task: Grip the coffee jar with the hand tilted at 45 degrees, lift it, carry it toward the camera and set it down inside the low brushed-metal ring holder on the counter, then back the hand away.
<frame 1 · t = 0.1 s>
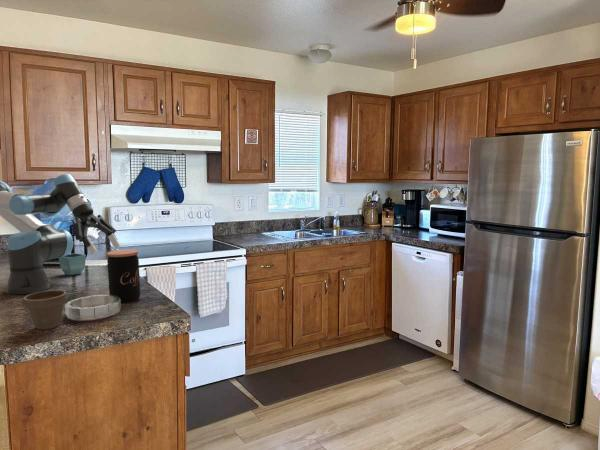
hand: (106, 250, 189), 15 cm above the countertop, tool tilted 35°, fingers open, 13 cm apart
coffee jar: (125, 300, 171), on the countertop
cup bracket: (94, 313, 155), on the countertop
flower pot: (73, 274, 217), on the countertop
flower pot 2: (47, 327, 142), on the countertop
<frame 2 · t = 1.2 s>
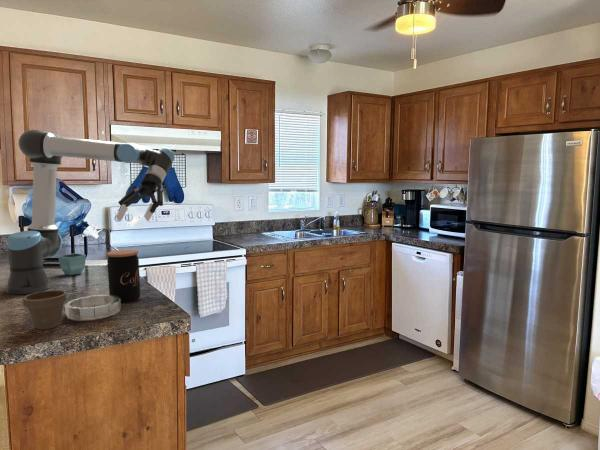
hand: (132, 218, 180), 29 cm above the countertop, tool tilted 45°, fingers open, 13 cm apart
nothing on the countertop moved.
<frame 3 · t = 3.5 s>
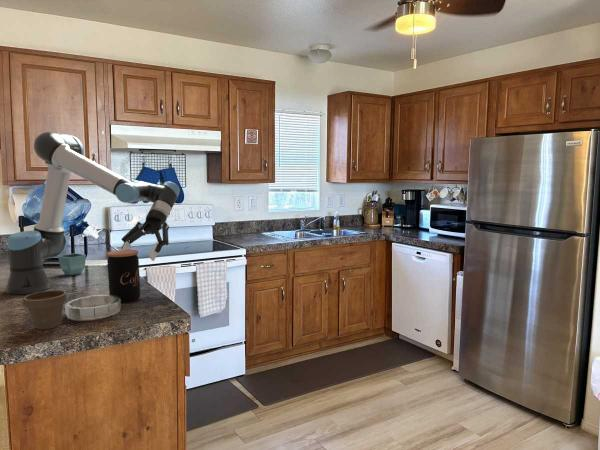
hand: (136, 258, 174), 15 cm above the countertop, tool tilted 45°, fingers open, 13 cm apart
nothing on the countertop moved.
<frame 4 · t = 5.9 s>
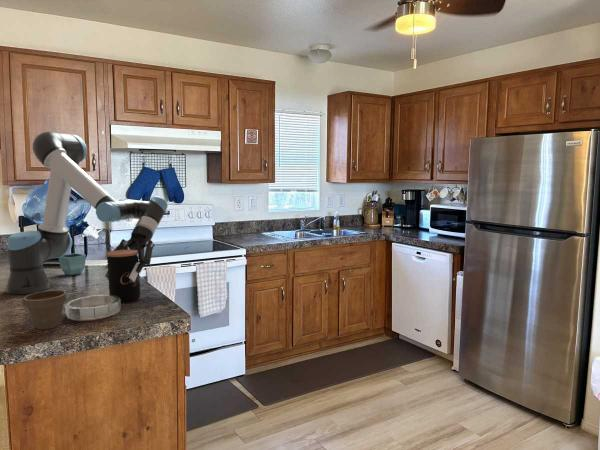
hand: (118, 278, 167), 9 cm above the countertop, tool tilted 45°, fingers closed on coffee jar, 11 cm apart
coffee jar: (125, 300, 171), on the countertop, touching gripper
everything else where it was.
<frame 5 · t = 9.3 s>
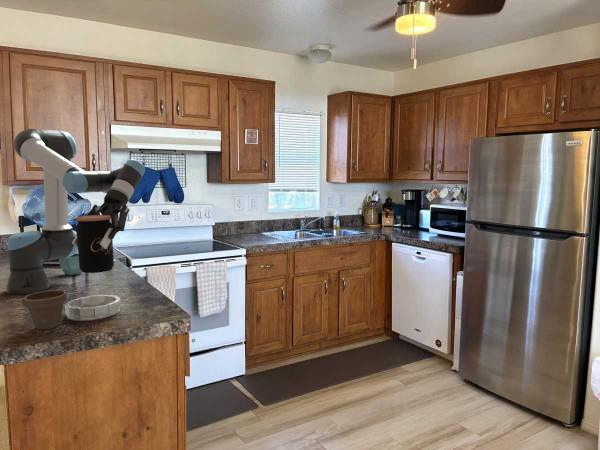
hand: (88, 245, 151), 23 cm above the countertop, tool tilted 45°, fingers closed on coffee jar, 11 cm apart
coffee jar: (97, 270, 155), point 14 cm above the countertop, touching gripper
everything else where it was.
when the fingers open (11 cm above the countertop, at t = 13.0 s): coffee jar drops 1 cm, resting on cup bracket.
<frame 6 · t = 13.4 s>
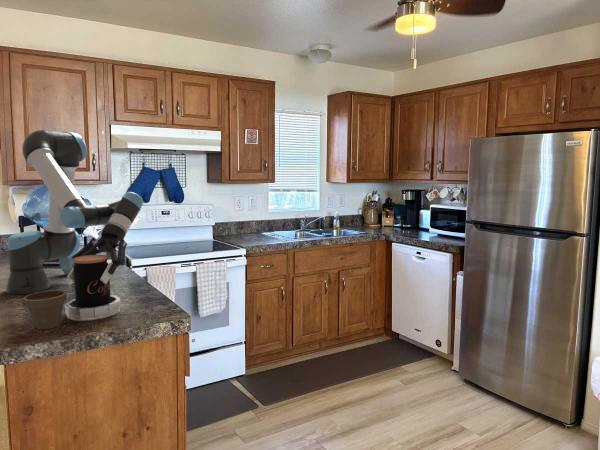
hand: (86, 280, 151), 12 cm above the countertop, tool tilted 45°, fingers open, 13 cm apart
coffee jar: (94, 311, 155), point 1 cm above the countertop, touching cup bracket
everything else where it was.
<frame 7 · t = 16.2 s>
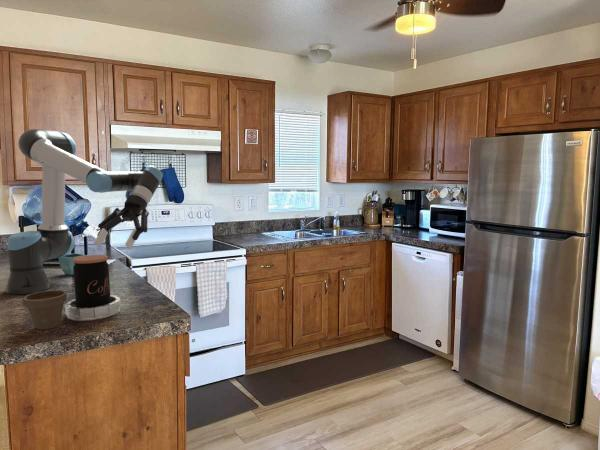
hand: (112, 245, 162), 21 cm above the countertop, tool tilted 45°, fingers open, 13 cm apart
nothing on the countertop moved.
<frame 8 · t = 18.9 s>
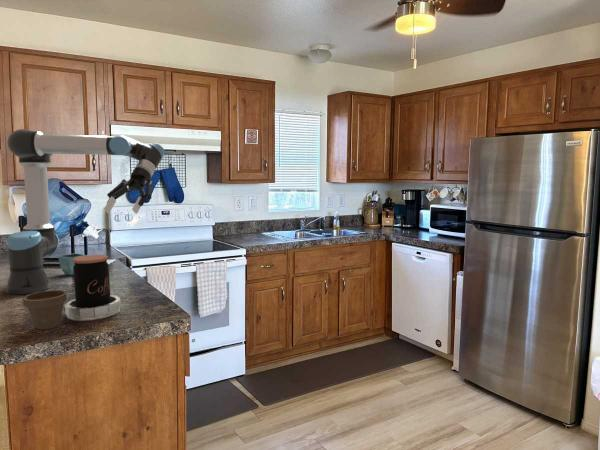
hand: (120, 211, 183), 32 cm above the countertop, tool tilted 45°, fingers open, 13 cm apart
nothing on the countertop moved.
at the end: coffee jar 0.1 cm off-centre on the cup bracket, point 0.6 cm above the cup bracket's base; coffee jar tilted 0°; the gripper is holding nothing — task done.
